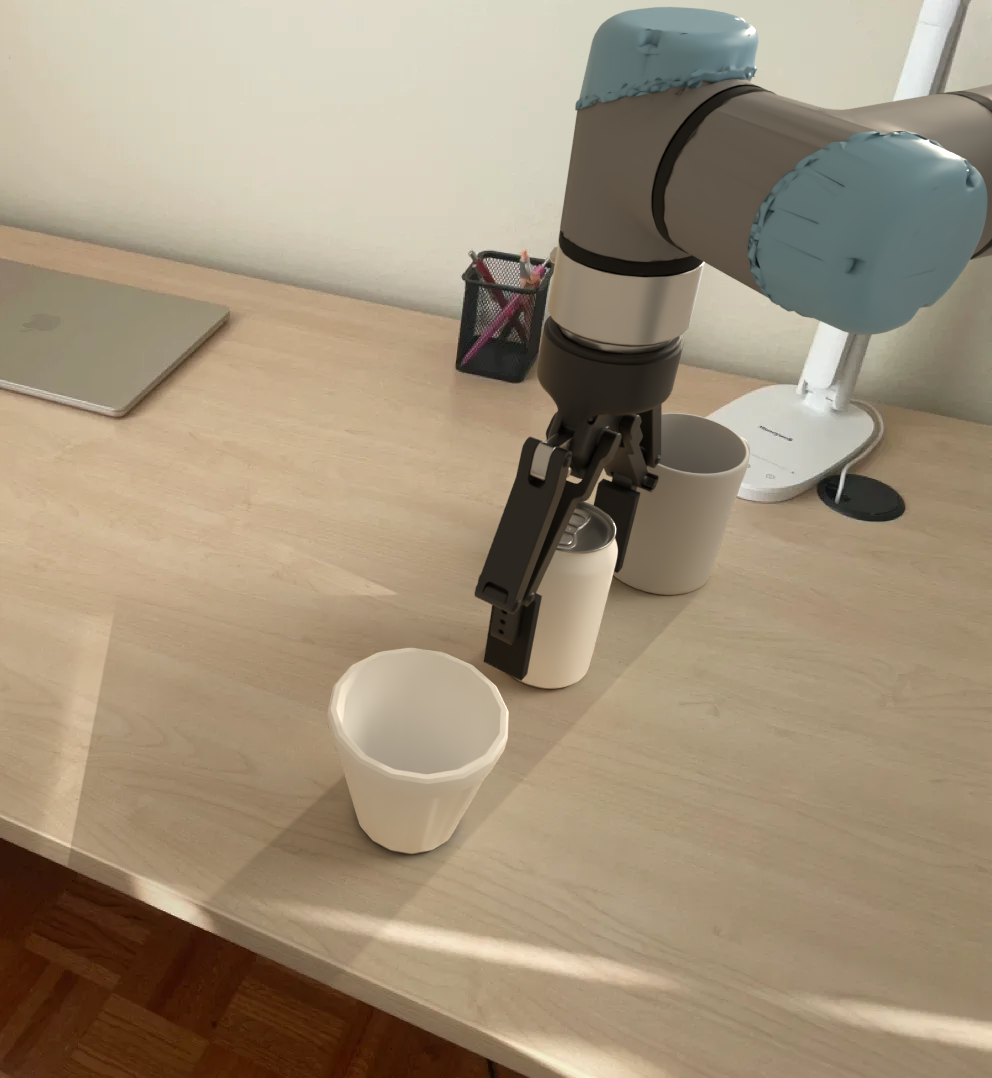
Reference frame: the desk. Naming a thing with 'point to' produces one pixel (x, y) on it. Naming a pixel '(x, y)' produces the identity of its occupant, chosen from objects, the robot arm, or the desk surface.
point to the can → (573, 600)
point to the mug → (685, 506)
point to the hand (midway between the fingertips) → (556, 613)
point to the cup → (415, 743)
